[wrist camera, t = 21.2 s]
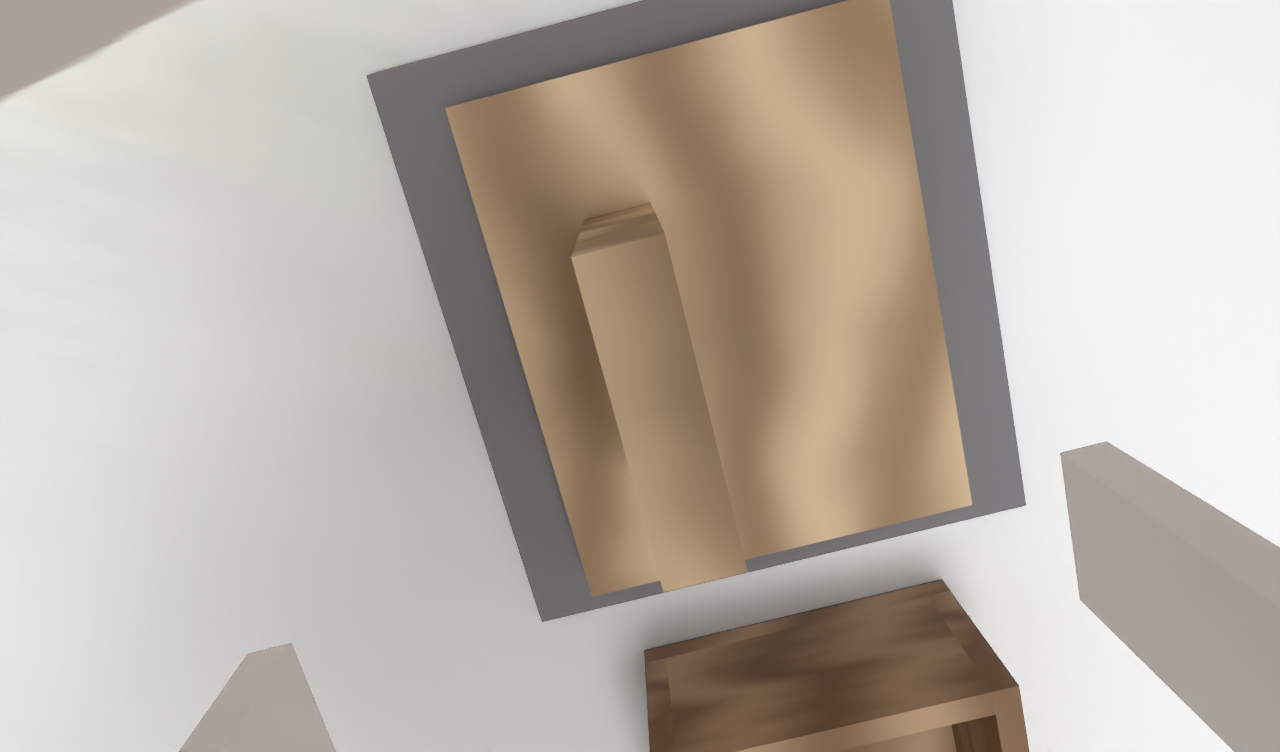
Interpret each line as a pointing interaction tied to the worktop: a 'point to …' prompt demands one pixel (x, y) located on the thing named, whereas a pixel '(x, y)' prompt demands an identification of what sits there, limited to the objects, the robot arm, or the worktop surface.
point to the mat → (477, 319)
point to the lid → (723, 294)
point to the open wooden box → (839, 683)
